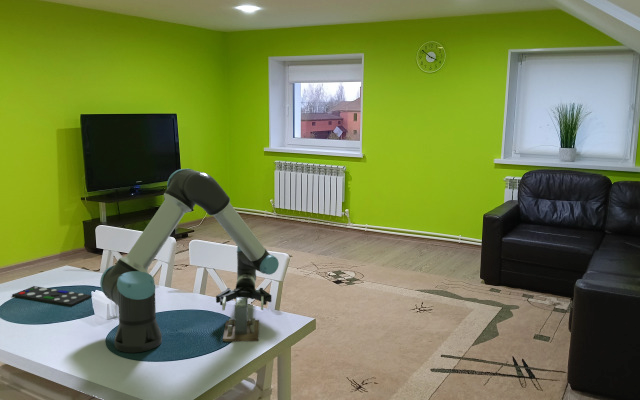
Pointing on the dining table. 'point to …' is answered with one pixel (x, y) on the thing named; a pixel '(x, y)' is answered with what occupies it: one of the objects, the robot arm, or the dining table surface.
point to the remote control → (52, 296)
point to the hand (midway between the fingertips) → (242, 306)
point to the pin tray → (251, 335)
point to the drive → (241, 315)
